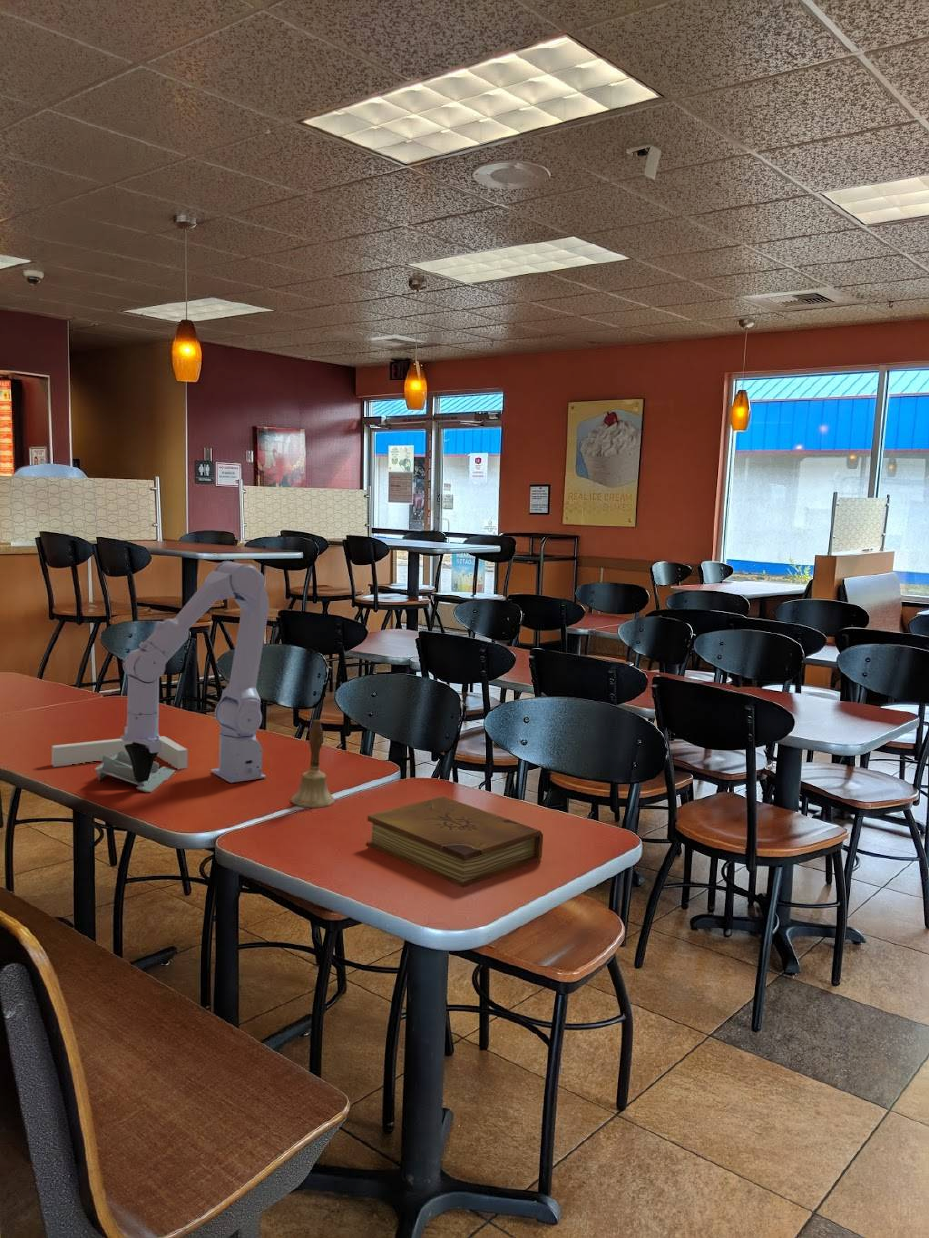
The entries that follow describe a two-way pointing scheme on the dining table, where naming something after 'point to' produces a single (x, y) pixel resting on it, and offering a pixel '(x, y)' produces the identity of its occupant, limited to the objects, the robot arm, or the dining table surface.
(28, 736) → the dining table surface
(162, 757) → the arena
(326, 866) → the dining table surface
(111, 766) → the metal bracket
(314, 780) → the hand bell
